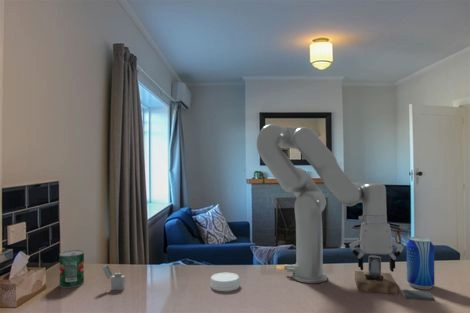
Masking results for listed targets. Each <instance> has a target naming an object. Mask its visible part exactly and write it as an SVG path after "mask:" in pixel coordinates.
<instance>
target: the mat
mask: <svg viewBox="0 0 470 313" xmlns="http://www.w3.org/2000/svg"><path fill="white" fill-rule="evenodd" d="M401 292H402V293H403V295H404V296H405V298H406V299H408V300H409V299H413V300H422V301H423V300H424V301H436V300H435V299H436V298H435V297H434V296H433V295H432V293H431V292H430V291H427V290H426V291H425V290H413V289H401Z"/></svg>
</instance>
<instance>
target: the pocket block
mask: <svg viewBox="0 0 470 313" xmlns="http://www.w3.org/2000/svg"><path fill="white" fill-rule="evenodd" d="M354 282H355V285H356V288H357V291H358V292H363V293H365V292H366V293H377V294H378V293H379V294H388V295H389V294H390V295H398V284H397V281H396V280H395V278H394V277H393V275H392V273H391V272H390V273H389V272H381V281H377V280H369V271H364V270H354Z"/></svg>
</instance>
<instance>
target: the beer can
mask: <svg viewBox="0 0 470 313" xmlns="http://www.w3.org/2000/svg"><path fill="white" fill-rule="evenodd" d="M406 281H407V283H408V284H409V286H410V287H412V288H414V289H418V290H419V289H420V290H431V289H432V288H433V286H435V246H434V244H433V243H432V240H431V239H430V238H429V237H428V238H427V237H423V236H422V237H420V236H411V237H409V240H408V242H406Z"/></svg>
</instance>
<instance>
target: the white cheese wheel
mask: <svg viewBox="0 0 470 313" xmlns="http://www.w3.org/2000/svg"><path fill="white" fill-rule="evenodd" d="M240 283H241V281H240V276H239V275H238V274H237V273H233V272H218V273H214V274H212V275H211V276H210V288H211V289H212V290H214V291H217V292H218V291H219V292H232V291H236V290H238V289H240Z"/></svg>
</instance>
